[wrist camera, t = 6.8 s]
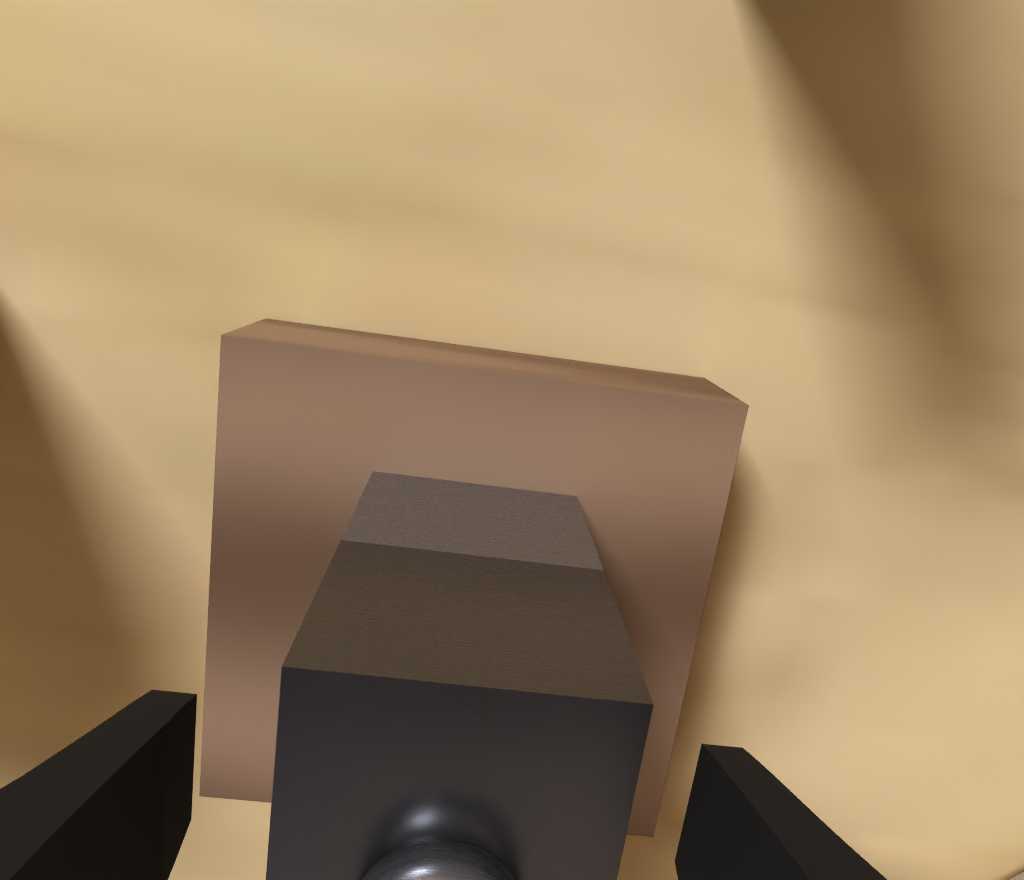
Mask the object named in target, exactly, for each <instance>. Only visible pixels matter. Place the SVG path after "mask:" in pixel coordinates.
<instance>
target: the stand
mask: <svg viewBox="0 0 1024 880" xmlns="http://www.w3.org/2000/svg"><path fill="white" fill-rule="evenodd" d="M748 407H749V405H747V404H746V403H744V402H742V401H741V400H739V399H738V398H736V397H734V396H733V395H731V394H730V393H728V392H726V391H725V390H723V389H721V388H720V387H718V386H717V385H715V384H713V383H712V382H710V381H709V380H707V379H705V378H700V377H693V376H685V375H678V374H671V373H663V372H656V371H648V370H641V369H634V368H626V367H619V366H611V365H604V364H597V363H589V362H582V361H574V360H567V359H560V358H552V357H545V356H537V355H530V354H523V353H515V352H508V351H501V350H493V349H486V348H478V347H471V346H464V345H456V344H449V343H441V342H434V341H427V340H419V339H412V338H404V337H397V336H390V335H382V334H375V333H367V332H360V331H353V330H345V329H338V328H330V327H323V326H316V325H308V324H301V323H294V322H286V321H279V320H271V319H264V320H261V321H258V322H255V323H253V324H250V325H247V326H245V327H242V328H239V329H236V330H234V331H231V332H228V333H226V334H223V335H221V349H220V370H219V392H218V413H217V435H216V456H215V478H214V499H213V520H212V542H211V563H210V585H209V606H208V628H207V649H206V670H205V692H204V713H203V735H202V756H201V778H200V796H204V797H215V798H226V799H237V800H248V801H259V802H270V803H272V791H273V777H274V764H275V750H276V737H277V723H278V710H279V696H280V683H281V669H282V665H283V663H284V660H285V658H286V656H287V654H288V652H289V650H290V648H291V645H292V643H293V641H294V639H295V637H296V635H297V633H298V630H299V628H300V626H301V624H302V622H303V620H304V618H305V615H306V613H307V611H308V609H309V607H310V605H311V603H312V600H313V598H314V596H315V594H316V592H317V590H318V588H319V585H320V583H321V581H322V579H323V577H324V575H325V573H326V570H327V568H328V566H329V564H330V562H331V560H332V558H333V555H334V553H335V551H336V549H337V547H338V545H339V543H340V540H341V538H342V536H343V534H344V532H345V530H346V528H347V525H348V523H349V521H350V519H351V517H352V515H353V513H354V510H355V508H356V506H357V504H358V502H359V500H360V498H361V495H362V493H363V491H364V489H365V487H366V485H367V483H368V480H369V478H370V476H371V474H372V472H373V471H376V472H384V473H392V474H400V475H408V476H417V477H425V478H433V479H441V480H449V481H457V482H466V483H474V484H482V485H490V486H498V487H507V488H515V489H523V490H531V491H539V492H547V493H556V494H564V495H572V496H576V497H577V499H578V502H579V505H580V507H581V510H582V513H583V515H584V518H585V521H586V523H587V526H588V529H589V532H590V534H591V537H592V540H593V542H594V545H595V548H596V550H597V553H598V556H599V559H600V561H601V564H602V567H603V569H604V572H605V575H606V577H607V580H608V583H609V585H610V588H611V591H612V594H613V596H614V599H615V602H616V604H617V607H618V610H619V612H620V615H621V618H622V621H623V623H624V626H625V629H626V631H627V634H628V637H629V639H630V642H631V645H632V647H633V650H634V653H635V656H636V658H637V661H638V664H639V666H640V669H641V672H642V674H643V677H644V680H645V683H646V685H647V688H648V691H649V693H650V696H651V699H652V701H653V704H654V706H653V710H652V715H651V720H650V725H649V729H648V734H647V739H646V743H645V748H644V753H643V758H642V762H641V767H640V772H639V776H638V781H637V786H636V791H635V795H634V800H633V805H632V810H631V814H630V819H629V824H628V828H627V833H626V834H627V835H638V836H649V837H653V834H654V829H655V825H656V820H657V816H658V811H659V807H660V802H661V798H662V793H663V789H664V784H665V780H666V775H667V771H668V766H669V762H670V757H671V753H672V748H673V744H674V739H675V735H676V730H677V726H678V721H679V717H680V712H681V708H682V703H683V699H684V694H685V690H686V685H687V681H688V676H689V672H690V667H691V663H692V658H693V654H694V649H695V645H696V640H697V636H698V631H699V627H700V622H701V618H702V613H703V609H704V604H705V600H706V595H707V591H708V586H709V582H710V577H711V573H712V568H713V564H714V559H715V555H716V550H717V546H718V541H719V537H720V532H721V528H722V523H723V519H724V514H725V510H726V505H727V501H728V496H729V492H730V487H731V483H732V478H733V474H734V469H735V465H736V460H737V456H738V451H739V447H740V442H741V438H742V433H743V429H744V424H745V420H746V415H747V411H748Z"/></svg>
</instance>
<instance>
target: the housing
mask: <svg viewBox="0 0 1024 880" xmlns="http://www.w3.org/2000/svg"><path fill="white" fill-rule="evenodd" d="M653 706H654V704H653V701H652V699H651V696H650V693H649V691H648V688H647V685H646V683H645V680H644V677H643V674H642V672H641V669H640V666H639V664H638V661H637V658H636V656H635V653H634V650H633V647H632V645H631V642H630V639H629V637H628V634H627V631H626V629H625V626H624V623H623V621H622V618H621V615H620V612H619V610H618V607H617V604H616V602H615V599H614V596H613V594H612V591H611V588H610V585H609V583H608V580H607V577H606V575H605V572H604V569H603V567H602V564H601V561H600V559H599V556H598V553H597V550H596V548H595V545H594V542H593V540H592V537H591V534H590V532H589V529H588V526H587V523H586V521H585V518H584V515H583V513H582V510H581V507H580V505H579V502H578V499H577V497H576V496H572V495H564V494H556V493H547V492H539V491H531V490H523V489H515V488H507V487H498V486H490V485H482V484H474V483H466V482H457V481H449V480H441V479H433V478H425V477H417V476H408V475H400V474H392V473H384V472H376V471H373V472H372V474H371V476H370V478H369V480H368V483H367V485H366V487H365V489H364V491H363V493H362V495H361V498H360V500H359V502H358V504H357V506H356V508H355V510H354V513H353V515H352V517H351V519H350V521H349V523H348V525H347V528H346V530H345V532H344V534H343V536H342V538H341V540H340V543H339V545H338V547H337V549H336V551H335V553H334V555H333V558H332V560H331V562H330V564H329V566H328V568H327V570H326V573H325V575H324V577H323V579H322V581H321V583H320V585H319V588H318V590H317V592H316V594H315V596H314V598H313V600H312V603H311V605H310V607H309V609H308V611H307V613H306V615H305V618H304V620H303V622H302V624H301V626H300V628H299V630H298V633H297V635H296V637H295V639H294V641H293V643H292V645H291V648H290V650H289V652H288V654H287V656H286V658H285V660H284V663H283V665H282V669H281V683H280V696H279V710H278V723H277V737H276V750H275V764H274V777H273V791H272V804H271V818H270V831H269V844H268V858H267V871H266V880H617V876H618V871H619V866H620V861H621V857H622V852H623V847H624V843H625V838H626V833H627V828H628V824H629V819H630V814H631V810H632V805H633V800H634V795H635V791H636V786H637V781H638V776H639V772H640V767H641V762H642V758H643V753H644V748H645V743H646V739H647V734H648V729H649V725H650V720H651V715H652V710H653Z"/></svg>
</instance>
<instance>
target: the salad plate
mask: <svg viewBox="0 0 1024 880" xmlns="http://www.w3.org/2000/svg"><path fill="white" fill-rule="evenodd" d="M1009 880H1024V872H1022V873H1021V874H1019V875H1017V876H1015V877H1013V878H1011V879H1009Z"/></svg>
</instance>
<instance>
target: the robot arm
mask: <svg viewBox="0 0 1024 880" xmlns="http://www.w3.org/2000/svg"><path fill="white" fill-rule="evenodd" d="M196 703H197V694H189V693H179V692H169V691H159V690H151V691H149V692H148V693H146V694H145V695H143V696H142V697H140V698H138V699H137V700H135V701H134V702H132V703H131V704H129V705H128V706H126V707H125V708H123V709H122V710H121V711H119V712H118V713H116V714H115V715H113V716H112V717H110V718H109V719H107V720H106V721H104V722H103V723H101V724H100V725H99V726H97V727H96V728H94V729H93V730H91V731H90V732H88V733H87V734H85V735H84V736H82V737H81V738H79V739H78V740H76V741H75V742H73V743H72V744H70V745H69V746H67V747H66V748H64V749H63V750H61V751H60V752H58V753H57V754H55V755H54V756H52V757H51V758H49V759H47V760H46V761H44V762H43V763H41V764H40V765H38V766H37V767H35V768H34V769H32V770H31V771H29V772H28V773H26V774H25V775H23V776H21V777H20V778H18V779H16V780H15V781H13V782H11V783H10V784H8V785H6V786H5V787H3V788H1V789H0V880H168V878H169V875H170V873H171V870H172V868H173V865H174V863H175V860H176V858H177V855H178V853H179V850H180V847H181V845H182V842H183V839H184V837H185V834H186V832H187V829H188V826H189V824H190V821H191V813H192V791H193V769H194V747H195V725H196ZM675 864H676V870H677V875H678V880H887V879H886V878H885V877H884V876H882V875H881V874H880V873H879V872H878V871H877V870H876V869H874V868H873V867H872V866H871V865H870V864H869V863H868V862H867V861H865V860H864V859H863V858H862V857H861V856H860V855H859V854H858V853H856V852H855V851H854V850H853V849H852V848H851V847H850V846H849V845H848V844H846V843H845V842H844V841H843V840H842V839H841V838H840V837H839V836H838V835H837V834H836V833H834V832H833V831H832V830H831V829H830V828H829V827H828V826H827V825H826V824H825V823H824V822H823V821H822V820H820V819H819V818H818V817H817V816H816V815H815V814H814V813H813V812H812V811H811V810H810V809H809V808H808V807H807V806H806V805H805V804H803V803H802V802H801V801H800V800H799V799H798V798H797V797H796V796H795V795H794V794H793V793H792V792H791V791H790V790H789V789H788V788H787V787H785V786H784V785H783V784H782V783H781V782H780V781H779V780H778V779H777V778H776V777H775V776H774V775H773V774H772V773H771V772H769V771H768V770H767V769H766V768H765V767H764V766H763V765H762V764H761V763H760V762H758V761H757V760H756V759H755V758H754V757H753V756H752V755H750V754H749V753H748V752H747V751H746V750H745V749H743V748H738V747H728V746H718V745H708V744H702V746H701V750H700V754H699V759H698V763H697V767H696V772H695V776H694V780H693V785H692V789H691V793H690V798H689V802H688V806H687V811H686V815H685V819H684V824H683V828H682V832H681V837H680V841H679V845H678V850H677V854H676V858H675Z"/></svg>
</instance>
